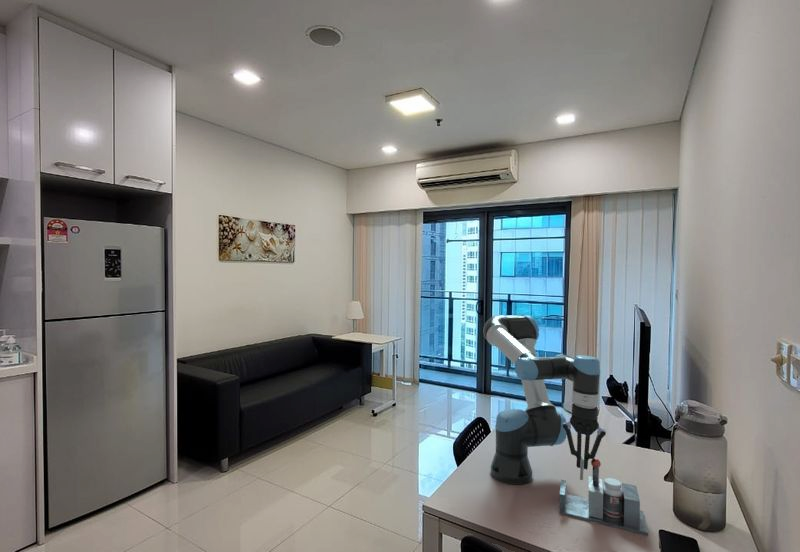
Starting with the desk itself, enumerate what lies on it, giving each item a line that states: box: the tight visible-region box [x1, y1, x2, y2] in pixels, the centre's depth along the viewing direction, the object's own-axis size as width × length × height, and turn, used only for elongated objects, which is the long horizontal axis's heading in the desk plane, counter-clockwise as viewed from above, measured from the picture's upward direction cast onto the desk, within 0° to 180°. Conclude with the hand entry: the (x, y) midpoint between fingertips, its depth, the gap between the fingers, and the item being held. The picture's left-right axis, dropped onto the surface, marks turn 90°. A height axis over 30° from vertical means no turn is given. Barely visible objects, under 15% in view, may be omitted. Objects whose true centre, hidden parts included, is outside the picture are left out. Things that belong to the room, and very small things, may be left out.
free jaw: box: [587, 457, 604, 519], centre depth 128 cm, size 4×10×16 cm, turn 155°
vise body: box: [558, 479, 649, 536], centre depth 127 cm, size 24×12×9 cm, turn 65°
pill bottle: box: [603, 477, 623, 518], centre depth 126 cm, size 6×6×10 cm
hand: (581, 478), depth 129 cm, fingers closed
